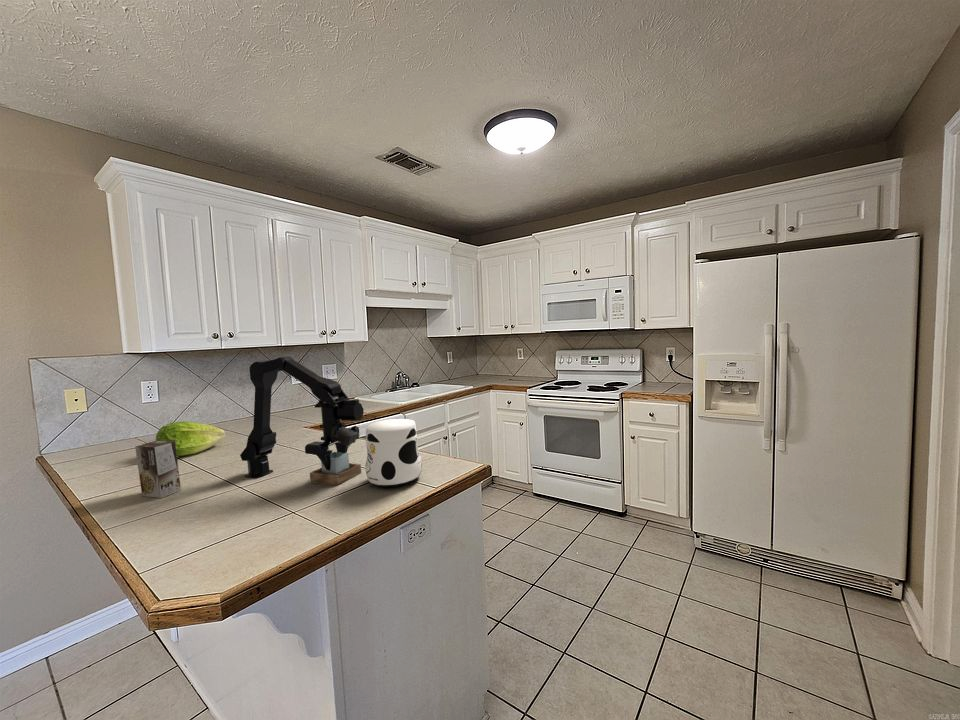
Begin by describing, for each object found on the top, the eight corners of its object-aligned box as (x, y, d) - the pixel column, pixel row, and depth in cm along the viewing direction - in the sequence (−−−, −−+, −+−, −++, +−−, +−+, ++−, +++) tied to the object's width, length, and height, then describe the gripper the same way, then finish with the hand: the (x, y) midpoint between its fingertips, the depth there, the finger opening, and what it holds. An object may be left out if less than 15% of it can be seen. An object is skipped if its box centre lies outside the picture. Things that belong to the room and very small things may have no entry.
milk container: (356, 483, 125) (351, 426, 124) (401, 466, 138) (397, 415, 136) (387, 496, 114) (382, 434, 112) (434, 477, 126) (430, 421, 125)
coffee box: (182, 490, 127) (176, 440, 126) (160, 498, 121) (154, 447, 120) (162, 488, 130) (156, 439, 129) (140, 496, 124) (134, 445, 123)
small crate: (322, 472, 129) (320, 457, 129) (335, 466, 135) (334, 451, 135) (336, 474, 127) (335, 458, 127) (349, 467, 133) (348, 452, 132)
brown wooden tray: (310, 482, 128) (309, 472, 128) (335, 469, 139) (334, 461, 138) (337, 485, 124) (336, 476, 124) (361, 472, 134) (360, 464, 134)
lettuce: (231, 450, 173) (230, 417, 175) (160, 459, 155) (160, 422, 157) (219, 450, 185) (219, 419, 186) (152, 458, 167) (152, 424, 168)
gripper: (329, 429, 118) (334, 480, 119) (370, 414, 135) (373, 459, 136) (301, 427, 122) (306, 476, 124) (344, 413, 139) (347, 457, 141)
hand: (335, 467), depth 131 cm, fingers closed on small crate, 6 cm apart
